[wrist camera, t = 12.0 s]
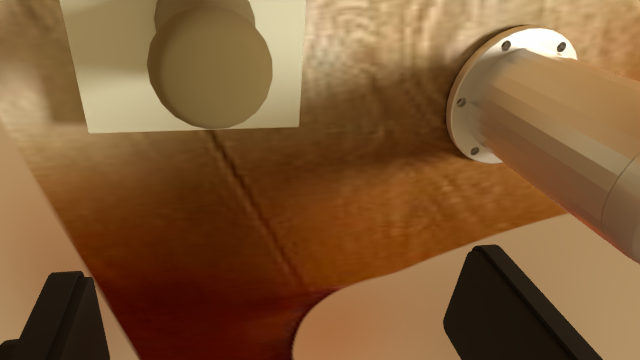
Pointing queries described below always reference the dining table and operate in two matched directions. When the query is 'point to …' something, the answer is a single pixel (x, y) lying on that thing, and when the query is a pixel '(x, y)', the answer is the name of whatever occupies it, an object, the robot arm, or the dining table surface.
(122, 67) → the cream block
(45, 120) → the dining table surface
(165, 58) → the cork
